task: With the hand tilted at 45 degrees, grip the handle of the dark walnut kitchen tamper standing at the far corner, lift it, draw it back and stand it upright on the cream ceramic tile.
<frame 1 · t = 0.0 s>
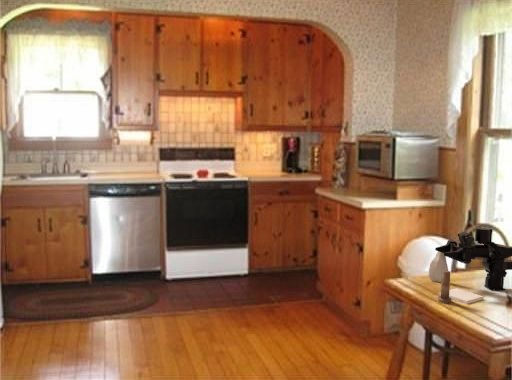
hand: (439, 251, 233), 17 cm above the table, tool horizontal, fingers open, 9 cm apart
tamper: (444, 301, 218), on the table
stone tool: (437, 281, 246), on the table
tile: (461, 297, 224), on the table
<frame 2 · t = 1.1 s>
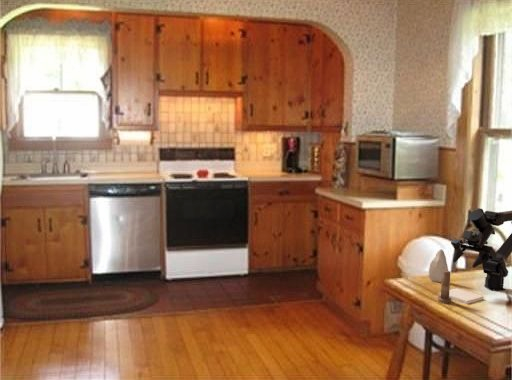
hand: (463, 264, 222), 14 cm above the table, tool tilted 45°, fingers open, 9 cm apart
nothing on the table moved.
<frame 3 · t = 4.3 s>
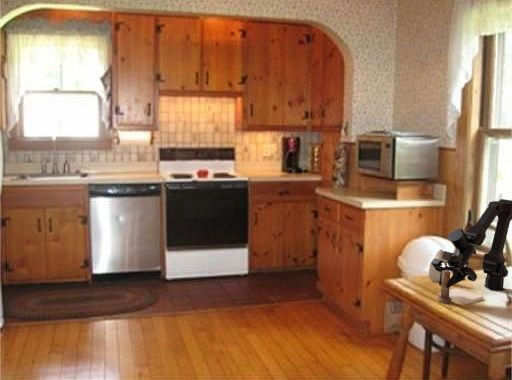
hand: (443, 286, 216), 7 cm above the table, tool tilted 45°, fingers closed on tamper, 3 cm apart
tamper: (444, 301, 218), on the table, touching gripper
everything else where it was.
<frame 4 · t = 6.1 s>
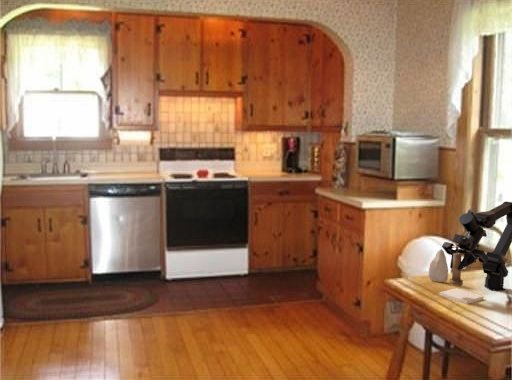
hand: (454, 268, 219), 13 cm above the table, tool tilted 45°, fingers closed on tamper, 3 cm apart
tamper: (456, 283, 221), point 6 cm above the table, touching gripper
everything else where it was.
when the fingers open (9 cm above the table, at t = 7.7 s): tamper drops 1 cm, resting on tile.
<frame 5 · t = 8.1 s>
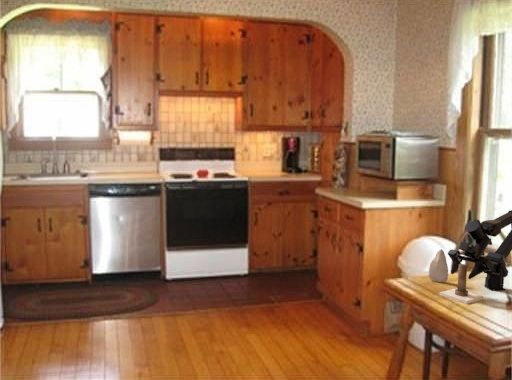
hand: (460, 276, 222), 9 cm above the table, tool tilted 45°, fingers open, 8 cm apart
tamper: (461, 294, 223), point 1 cm above the table, touching tile
everything else where it was.
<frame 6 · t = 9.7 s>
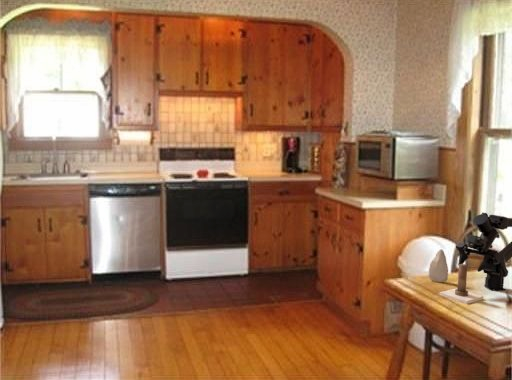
hand: (468, 268, 224), 12 cm above the table, tool tilted 45°, fingers open, 9 cm apart
nothing on the table moved.
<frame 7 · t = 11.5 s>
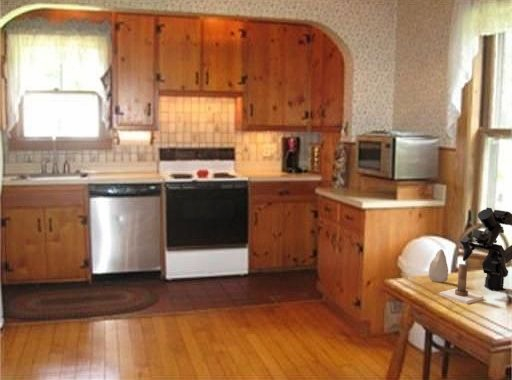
hand: (472, 263, 225), 14 cm above the table, tool tilted 45°, fingers open, 9 cm apart
nothing on the table moved.
at the end: tamper inside the target area on the tile (0.1 cm from its centre), point 1.2 cm above the tile's base; tamper tilted 0°; the gripper is holding nothing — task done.
